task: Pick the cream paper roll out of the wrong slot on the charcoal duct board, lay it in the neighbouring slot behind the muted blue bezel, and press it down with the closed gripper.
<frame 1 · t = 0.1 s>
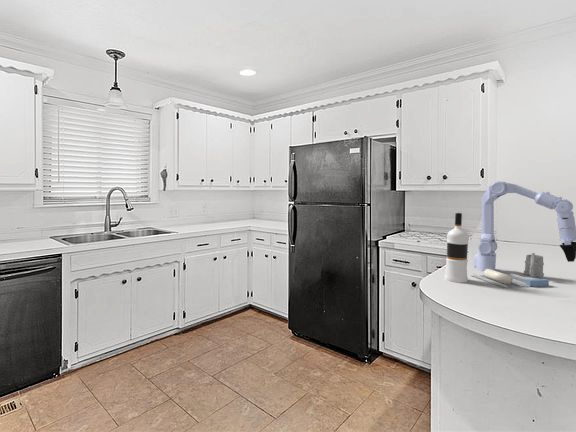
hand: (571, 260, 146), 11 cm above the countertop, tool pointing down, fingers open, 7 cm apart
vodka: (455, 282, 150), on the countertop
cream paper roll: (497, 281, 148), point 1 cm above the countertop, touching duct board
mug: (532, 278, 158), on the countertop
duct board: (508, 283, 149), on the countertop
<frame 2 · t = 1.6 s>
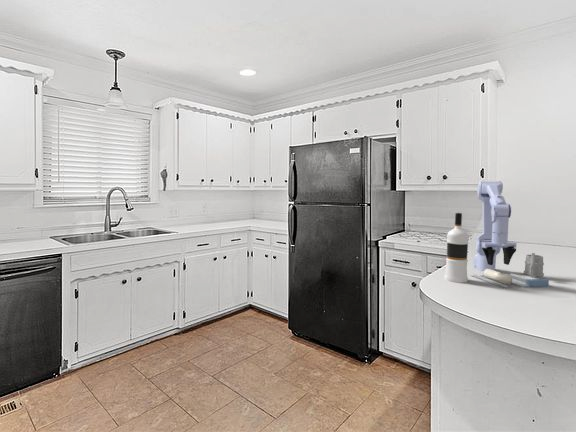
hand: (498, 264, 148), 8 cm above the countertop, tool pointing down, fingers open, 7 cm apart
nothing on the countertop moved.
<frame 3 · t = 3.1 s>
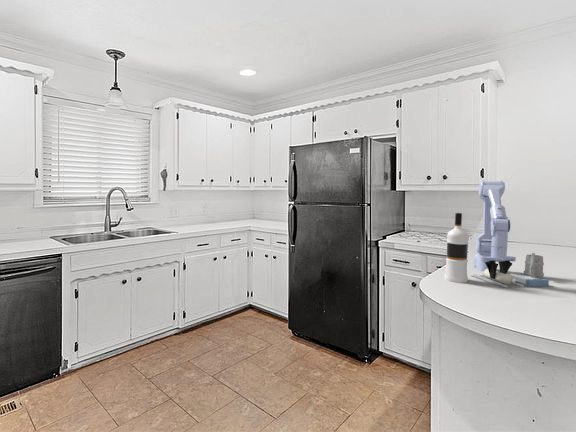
hand: (497, 278, 148), 2 cm above the countertop, tool pointing down, fingers closed on cream paper roll, 4 cm apart
cream paper roll: (497, 281, 148), point 1 cm above the countertop, touching duct board, gripper
everything else where it was.
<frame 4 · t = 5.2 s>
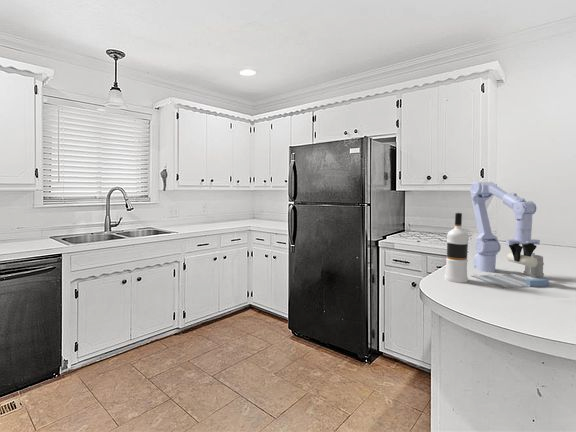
hand: (521, 261, 149), 9 cm above the countertop, tool pointing down, fingers closed on cream paper roll, 4 cm apart
cream paper roll: (521, 264, 149), point 8 cm above the countertop, touching gripper
everything else where it was.
when the fingers open (3 cm above the countertop, at t = 7.2 s): cream paper roll stays where it is, resting on duct board.
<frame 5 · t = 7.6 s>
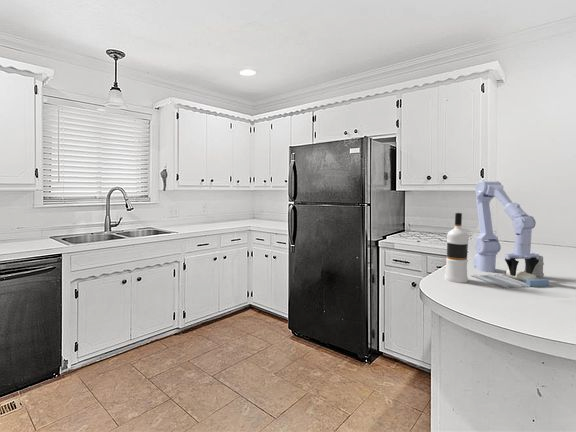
hand: (520, 275, 150), 3 cm above the countertop, tool pointing down, fingers open, 7 cm apart
cream paper roll: (520, 280, 150), point 1 cm above the countertop, touching duct board
everything else where it was.
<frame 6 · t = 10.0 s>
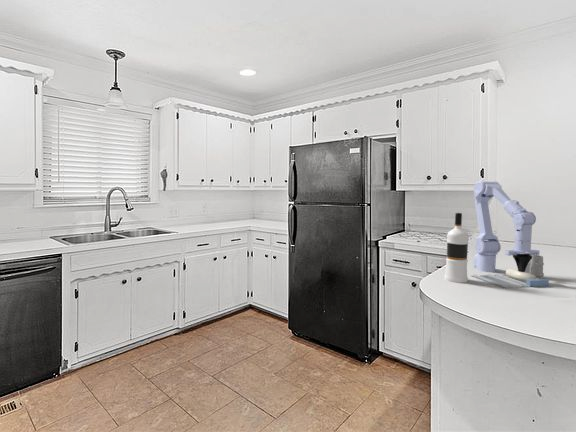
hand: (521, 271, 149), 5 cm above the countertop, tool pointing down, fingers closed, pressing on cream paper roll
cream paper roll: (519, 280, 150), point 1 cm above the countertop, touching duct board, gripper
everything else where it was.
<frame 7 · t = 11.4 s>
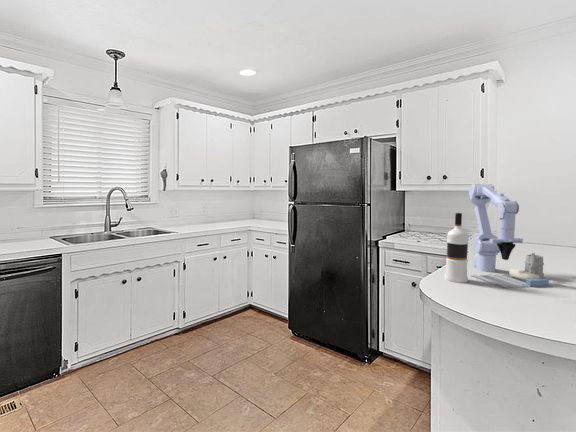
hand: (505, 259, 152), 9 cm above the countertop, tool pointing down, fingers closed
cream paper roll: (520, 278, 149), point 2 cm above the countertop, tilted 50°, touching duct board
everything else where it was.
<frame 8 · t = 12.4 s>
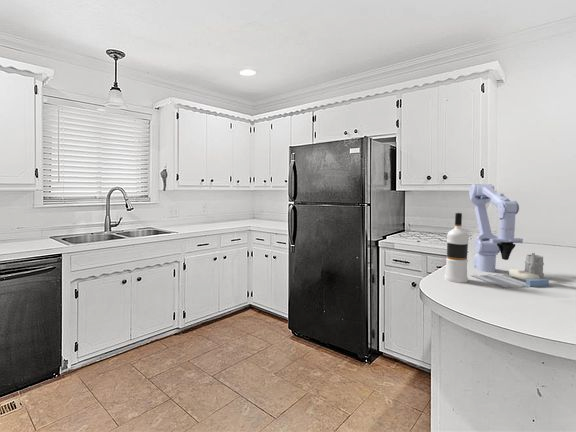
hand: (505, 259, 152), 9 cm above the countertop, tool pointing down, fingers closed
nothing on the countertop moved.
at the end: cream paper roll 1.7 cm from the target spot on the duct board, point 1.5 cm above the duct board's base; cream paper roll touching duct board; the gripper is holding nothing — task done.
